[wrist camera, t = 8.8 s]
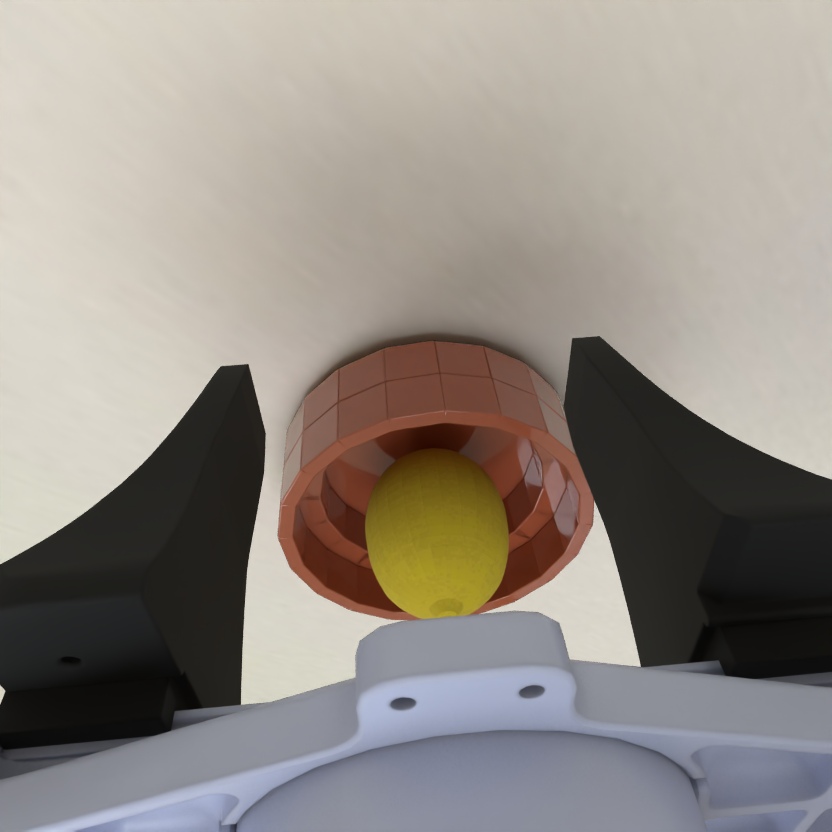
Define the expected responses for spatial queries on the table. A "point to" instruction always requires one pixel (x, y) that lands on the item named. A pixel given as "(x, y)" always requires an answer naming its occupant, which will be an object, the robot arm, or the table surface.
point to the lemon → (437, 534)
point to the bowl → (423, 429)
